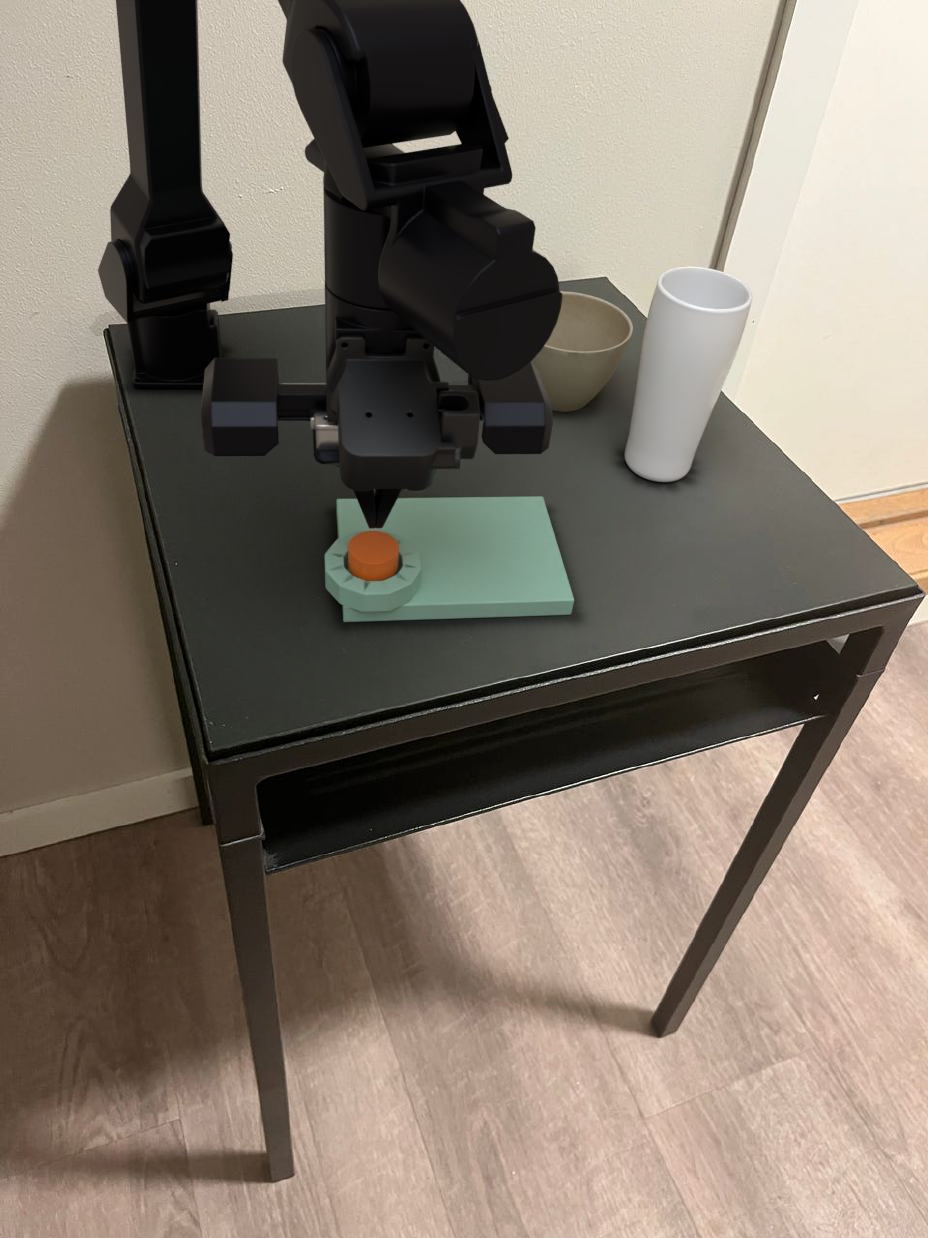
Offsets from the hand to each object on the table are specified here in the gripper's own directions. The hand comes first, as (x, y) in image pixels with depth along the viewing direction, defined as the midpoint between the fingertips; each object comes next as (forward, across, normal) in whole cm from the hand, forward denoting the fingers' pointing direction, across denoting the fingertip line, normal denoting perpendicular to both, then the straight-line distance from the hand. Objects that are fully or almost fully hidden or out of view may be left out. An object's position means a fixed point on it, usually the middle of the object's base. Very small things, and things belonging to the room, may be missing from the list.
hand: (375, 524), depth 59 cm
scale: (+6, +6, +3) cm, 9 cm away
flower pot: (+6, +18, +24) cm, 30 cm away
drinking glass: (+6, +24, +14) cm, 28 cm away
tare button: (+3, 0, 0) cm, 3 cm away
